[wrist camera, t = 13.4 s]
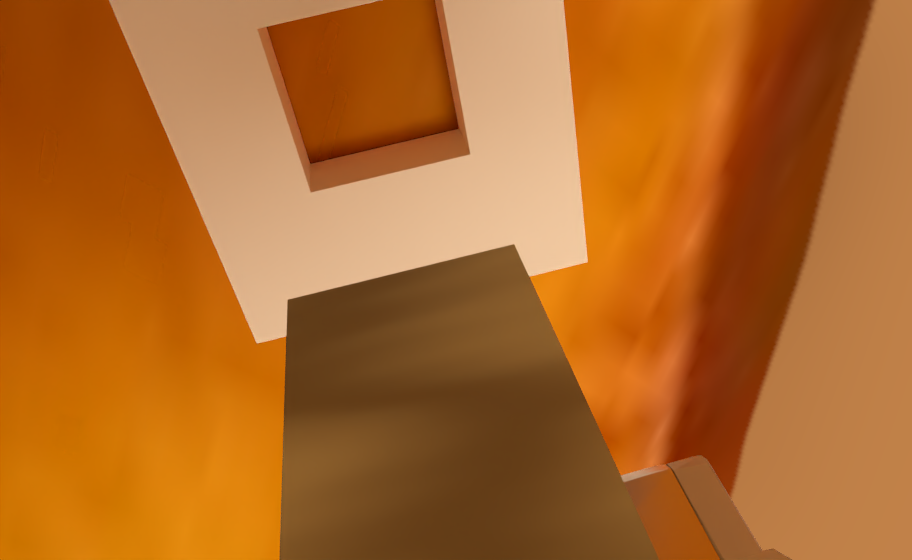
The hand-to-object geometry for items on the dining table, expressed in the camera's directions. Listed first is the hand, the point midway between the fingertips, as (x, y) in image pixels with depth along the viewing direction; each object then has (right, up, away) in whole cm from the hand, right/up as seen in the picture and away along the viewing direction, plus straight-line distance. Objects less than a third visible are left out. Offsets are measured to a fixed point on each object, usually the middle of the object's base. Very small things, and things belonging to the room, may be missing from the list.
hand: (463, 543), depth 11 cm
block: (-1, +2, +3) cm, 4 cm away
